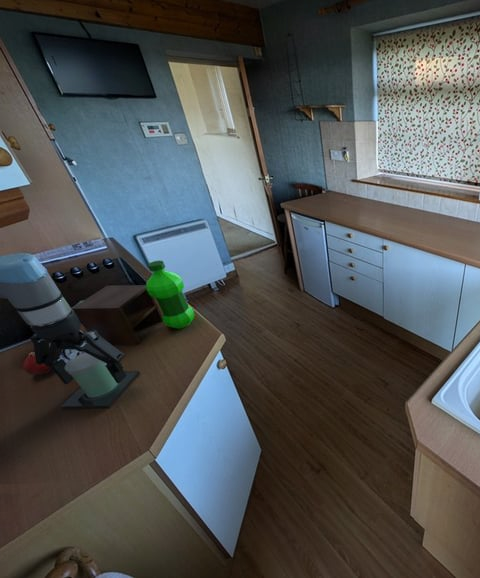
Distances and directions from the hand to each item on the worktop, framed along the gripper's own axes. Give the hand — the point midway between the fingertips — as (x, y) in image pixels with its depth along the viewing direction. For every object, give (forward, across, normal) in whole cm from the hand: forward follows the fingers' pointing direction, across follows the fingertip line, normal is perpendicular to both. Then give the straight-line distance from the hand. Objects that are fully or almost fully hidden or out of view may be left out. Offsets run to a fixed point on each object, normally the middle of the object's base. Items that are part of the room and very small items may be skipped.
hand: (96, 379), depth 80 cm
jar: (+3, 0, 0) cm, 3 cm away
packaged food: (+4, +33, -37) cm, 50 cm away
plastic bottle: (+4, -6, -30) cm, 31 cm away
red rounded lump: (+4, +22, -7) cm, 24 cm away
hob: (+4, 0, 0) cm, 4 cm away
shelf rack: (+4, +10, -26) cm, 28 cm away
